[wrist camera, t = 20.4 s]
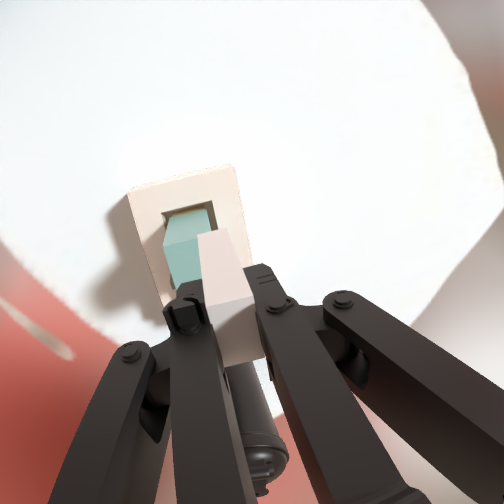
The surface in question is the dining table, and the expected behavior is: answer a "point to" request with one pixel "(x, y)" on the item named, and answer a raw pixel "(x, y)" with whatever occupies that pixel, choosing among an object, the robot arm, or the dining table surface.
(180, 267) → the teal block
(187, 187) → the socket block
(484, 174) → the dining table surface
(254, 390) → the water bottle
